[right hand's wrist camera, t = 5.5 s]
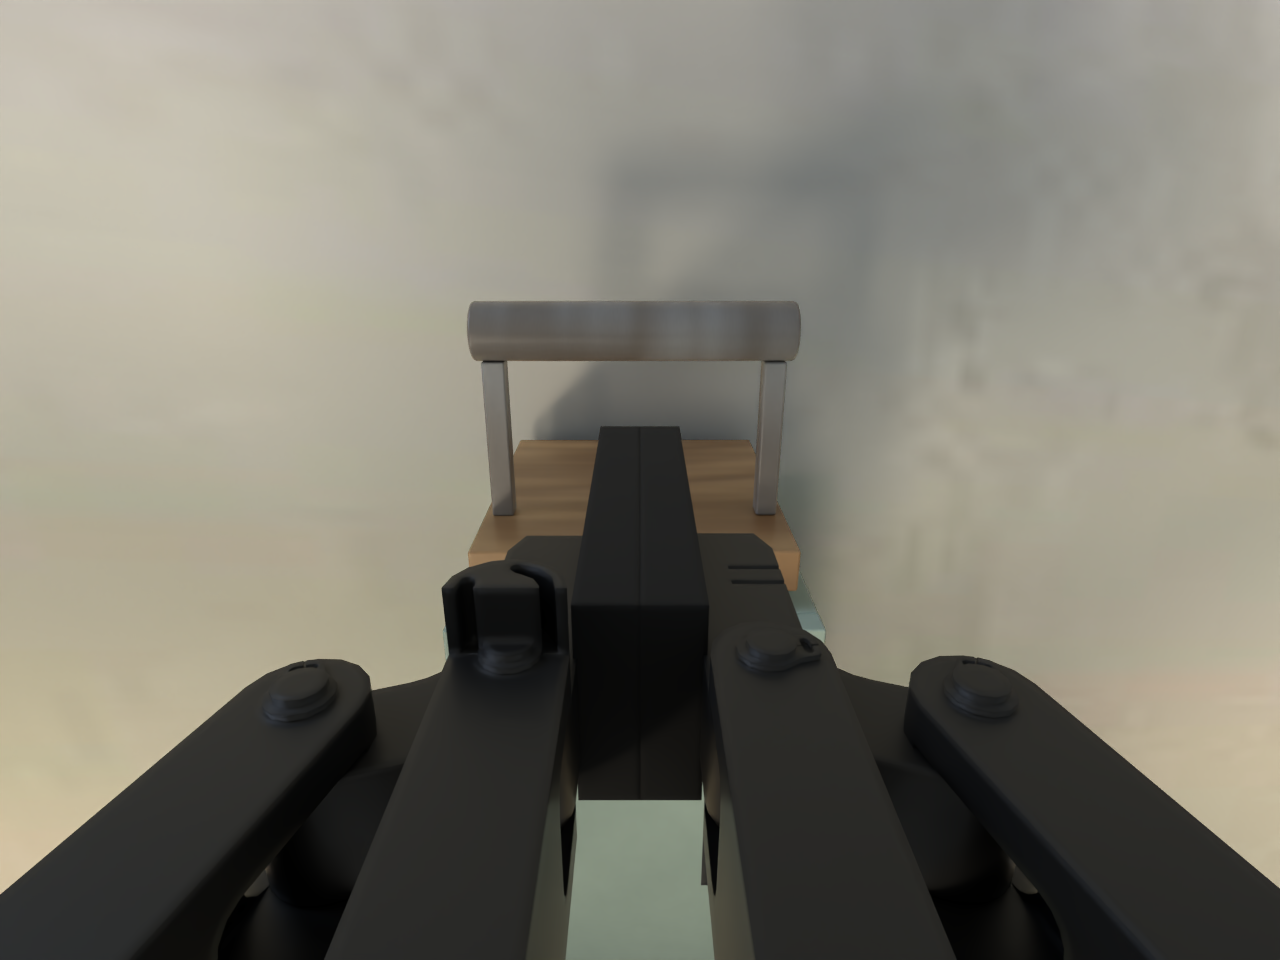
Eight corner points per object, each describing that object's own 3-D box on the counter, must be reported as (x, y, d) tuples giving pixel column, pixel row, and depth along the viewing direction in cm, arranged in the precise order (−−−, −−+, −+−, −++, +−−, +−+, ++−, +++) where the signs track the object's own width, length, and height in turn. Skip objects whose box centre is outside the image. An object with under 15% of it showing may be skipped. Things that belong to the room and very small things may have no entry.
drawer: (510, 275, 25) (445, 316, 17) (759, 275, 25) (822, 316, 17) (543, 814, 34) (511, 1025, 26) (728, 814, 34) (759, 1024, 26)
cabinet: (510, 475, 29) (441, 630, 19) (759, 475, 29) (827, 629, 19) (535, 845, 36) (495, 1107, 26) (735, 844, 36) (775, 1105, 26)
